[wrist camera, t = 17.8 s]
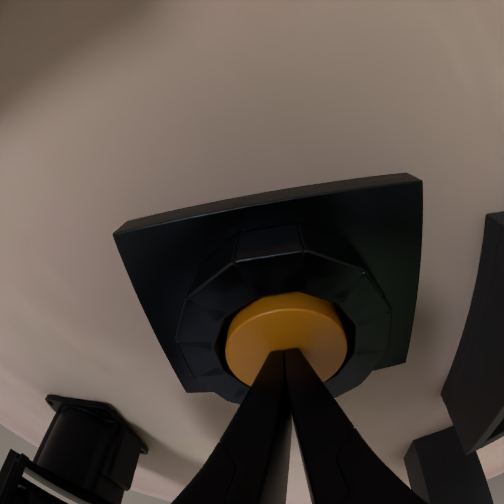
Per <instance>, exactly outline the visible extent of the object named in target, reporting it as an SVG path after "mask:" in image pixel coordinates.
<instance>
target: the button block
mask: <svg viewBox="0 0 504 504" xmlns="http://www.w3.org/2000/svg"><path fill="white" fill-rule="evenodd" d="M422 224H423V182H422V180H420V179H418V178H416V177H414V176H412V175H410V174H408V173H399V174H389V175H381V176H372V177H364V178H356V179H349V180H341V181H334V182H327V183H320V184H314V185H307V186H301V187H294V188H288V189H282V190H276V191H270V192H265V193H259V194H253V195H248V196H242V197H237V198H232V199H227V200H222V201H216V202H211V203H207V204H202V205H197V206H192V207H187V208H183V209H178V210H174V211H169V212H165V213H160V214H156V215H151V216H147V217H143V218H139V219H135V220H130V221H127V222H125V223H124V224H123V225H122V226H121V227H120V228H119V229H118V230H117V231H115V232H114V233H113V237H114V240H115V242H116V245H117V248H118V250H119V253H120V256H121V258H122V261H123V263H124V266H125V268H126V271H127V273H128V275H129V278H130V280H131V282H132V285H133V287H134V289H135V292H136V294H137V296H138V299H139V301H140V303H141V305H142V307H143V310H144V312H145V314H146V316H147V318H148V320H149V322H150V324H151V327H152V329H153V331H154V333H155V335H156V337H157V339H158V341H159V343H160V345H161V347H162V349H163V351H164V353H165V354H166V356H167V358H168V360H169V362H170V364H171V366H172V368H173V369H174V371H175V373H176V375H177V377H178V379H179V380H180V382H181V384H182V386H183V387H184V389H185V391H186V392H187V393H196V392H215V393H216V394H218V395H219V396H221V397H222V398H224V399H225V400H227V401H230V402H232V403H237V404H241V403H242V401H243V400H244V398H245V396H246V394H247V393H248V391H249V389H250V387H251V386H249V385H247V384H245V383H244V382H242V381H241V380H240V379H238V378H237V377H236V376H235V375H234V374H233V372H232V371H231V369H230V368H229V366H228V364H227V361H226V356H225V348H226V341H227V335H228V329H229V322H230V316H231V314H232V313H233V312H235V311H236V310H238V309H239V308H241V307H242V306H244V305H245V304H247V303H248V302H250V301H251V300H252V299H254V298H259V297H266V296H272V295H279V294H286V293H292V292H300V293H304V294H307V295H310V296H314V297H317V298H320V299H324V300H327V301H331V302H334V303H336V307H337V310H338V313H339V316H340V319H341V322H342V326H343V329H344V332H345V335H346V339H347V353H346V357H345V359H344V362H343V364H342V365H341V367H340V368H339V369H338V370H337V372H336V373H335V374H334V375H332V376H331V377H330V378H329V379H327V380H326V381H324V382H323V383H324V385H325V386H326V388H327V389H328V390H329V392H330V393H331V395H332V396H333V397H334V398H336V397H338V396H340V395H342V394H344V393H345V392H347V391H349V390H351V389H353V388H355V387H357V386H359V385H360V384H361V383H362V382H363V381H364V380H365V379H366V378H367V376H368V375H369V374H370V373H371V372H372V371H374V370H378V369H383V368H387V367H391V366H395V365H399V364H402V363H405V362H406V358H407V353H408V348H409V343H410V338H411V332H412V326H413V320H414V314H415V307H416V299H417V291H418V282H419V273H420V261H421V246H422Z"/></svg>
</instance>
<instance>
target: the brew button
mask: <svg viewBox="0 0 504 504" xmlns="http://www.w3.org/2000/svg"><path fill="white" fill-rule="evenodd" d="M291 348H299V349H300V350H301V352H302V353H303V355H304V356H305V357H306V359H307V360H308V362H309V363H310V365H311V366H312V368H313V369H314V370H315V372H316V373H317V375H318V376H319V378H320V379H321V380H322V382H324V381H326V380H327V379H329V378H330V377H331V376H332V375H334V374H335V373H336V372H337V370H338V369H339V368H340V367H341V365H342V364H343V362H344V359H345V357H346V353H347V339H346V335H345V332H344V329H343V326H342V322H341V319H340V316H339V313H338V310H337V307H336V303H334V302H331V301H327V300H324V299H320V298H317V297H314V296H310V295H307V294H304V293H300V292H292V293H286V294H279V295H272V296H266V297H259V298H254V299H252V300H251V301H250V302H248V303H247V304H245V305H244V306H242V307H241V308H239V309H238V310H236V311H235V312H233V313H232V314H231V316H230V322H229V329H228V335H227V341H226V348H225V356H226V361H227V364H228V366H229V368H230V369H231V371H232V372H233V374H234V375H235V376H236V377H237V378H238V379H240V380H241V381H242V382H244V383H245V384H247V385H249V386H251V385H252V384H253V382H254V380H255V378H256V376H257V374H258V373H259V371H260V369H261V367H262V365H263V363H264V362H265V360H266V358H267V356H268V354H269V353H270V352H271V351H276V350H284V352H285V350H286V349H291Z"/></svg>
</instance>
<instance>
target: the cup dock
mask: <svg viewBox="0 0 504 504" xmlns="http://www.w3.org/2000/svg"><path fill="white" fill-rule="evenodd" d="M441 396H442V399H443V401H444V403H445V405H446V408H447V410H448V413H449V415H450V417H451V420H452V422H453V425H454V427H455V429H456V432H457V434H458V437H459V440H460V442H461V445H462V448H463V450H464V453H465V455H468V454H470V453H472V452H474V451H476V450H478V449H479V448H482V447H484V446H486V445H488V444H490V443H492V442H494V441H495V440H497V439H499V438H501V437H503V436H504V212H498V213H491V214H487V215H486V224H485V233H484V240H483V248H482V254H481V260H480V266H479V271H478V276H477V281H476V286H475V291H474V295H473V299H472V303H471V307H470V311H469V315H468V319H467V322H466V326H465V329H464V332H463V336H462V339H461V342H460V345H459V348H458V351H457V354H456V357H455V360H454V362H453V365H452V368H451V370H450V373H449V376H448V378H447V381H446V383H445V386H444V388H443V390H442V393H441Z"/></svg>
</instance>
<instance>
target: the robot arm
mask: <svg viewBox="0 0 504 504" xmlns="http://www.w3.org/2000/svg"><path fill="white" fill-rule="evenodd" d="M45 400H46V402H47V403H48V404H49V405H50V406H51V407H52V409H53V410H54V411H55V412H56V414H55V416H54V418H53V420H52V422H51V424H50V426H49V428H48V430H47V432H46V434H45V436H44V438H43V440H42V442H41V444H40V447H39V449H38V451H37V453H36V455H35V457H34V460H33V462H32V461H30V460H29V458H28V457H27V456H26V455H24V454H23V453H22V454H21V455H20V454H19V453H17V452H15V451H13V450H12V449H10V451H9V453H8V455H7V458H6V460H5V462H4V464H3V466H2V468H1V471H0V504H68V503H66V502H64V501H62V500H60V499H59V498H57V497H55V496H53V495H51V494H50V493H48V492H46V491H45V490H43V489H41V488H40V487H38V486H36V485H35V484H33V483H31V482H30V481H28V480H27V479H25V478H23V477H22V475H23V472H25V473H26V474H28V475H29V476H31V477H32V478H34V479H35V480H37V481H39V482H40V483H42V484H43V485H45V486H47V487H49V488H50V489H52V490H54V491H56V492H57V493H59V494H61V495H63V496H65V497H66V498H68V499H70V500H72V501H74V502H76V503H78V504H121V501H122V498H123V494H124V490H126V491H128V490H129V489H130V487H131V484H132V480H133V476H134V473H135V469H136V466H137V462H138V459H139V455H140V454H147V453H148V450H149V449H148V448H147V447H146V446H145V445H144V444H143V443H142V442H141V441H140V439H139V438H138V437H137V436H136V435H135V434H134V433H133V432H132V431H131V430H130V429H129V428H128V427H127V425H126V424H125V423H124V422H123V421H122V420H121V419H120V418H119V416H118V415H117V414H116V413H115V412H114V411H113V409H112V408H111V407H109V406H108V405H106V404H103V403H96V402H88V401H81V400H75V399H69V398H63V397H57V396H52V395H47V397H46V399H45ZM292 417H293V422H294V427H295V431H296V436H297V440H298V444H299V449H300V453H301V457H302V462H303V466H304V471H305V475H306V479H307V484H308V488H309V493H310V497H311V502H312V504H429V503H428V502H426V501H425V500H423V499H422V498H420V497H419V496H418V495H417V494H415V493H414V492H413V491H412V490H411V489H410V488H409V487H408V486H407V485H406V484H405V483H404V482H403V481H402V480H401V479H400V478H398V477H397V476H396V475H395V474H394V473H393V472H392V471H391V470H390V469H389V468H388V467H387V466H386V465H385V464H384V463H383V462H382V461H381V459H380V458H379V457H378V456H377V455H376V454H375V453H374V452H373V451H372V449H371V448H370V447H369V446H368V444H367V443H366V442H365V441H364V439H363V438H362V437H361V435H360V434H359V432H358V431H357V430H356V428H354V426H353V424H352V423H351V421H350V420H349V419H348V417H347V416H346V414H345V413H344V412H343V410H342V409H341V407H340V406H339V405H338V403H337V402H336V400H335V399H334V397H333V396H332V395H331V393H330V392H329V390H328V389H327V388H326V386H325V385H324V383H323V382H322V380H321V379H320V378H319V376H318V375H317V373H316V372H315V370H314V369H313V368H312V366H311V365H310V363H309V362H308V360H307V359H306V357H305V356H304V355H303V353H302V352H301V350H300V349H299V348H291V349H286V350H285V352H284V350H276V351H271V352H270V353H269V354H268V356H267V358H266V360H265V362H264V363H263V365H262V367H261V369H260V371H259V373H258V374H257V376H256V378H255V380H254V382H253V384H252V385H251V387H250V389H249V391H248V393H247V394H246V396H245V398H244V400H243V401H242V403H241V405H240V407H239V408H238V410H237V412H236V414H235V415H234V417H233V419H232V420H231V422H230V424H229V426H228V427H227V429H226V431H225V432H224V434H223V436H222V437H221V439H220V442H218V444H217V445H216V447H215V449H214V450H213V452H212V453H211V455H210V456H209V458H208V459H207V461H206V462H205V464H204V465H203V467H202V468H201V469H200V470H199V472H198V473H197V474H196V475H195V477H194V478H193V479H192V480H191V482H190V483H189V484H188V485H187V486H186V487H185V488H184V490H183V491H182V492H181V493H180V494H179V495H178V496H177V497H176V499H175V500H174V501H173V502H172V503H171V504H286V494H287V483H288V472H289V459H290V446H291V431H292Z"/></svg>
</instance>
